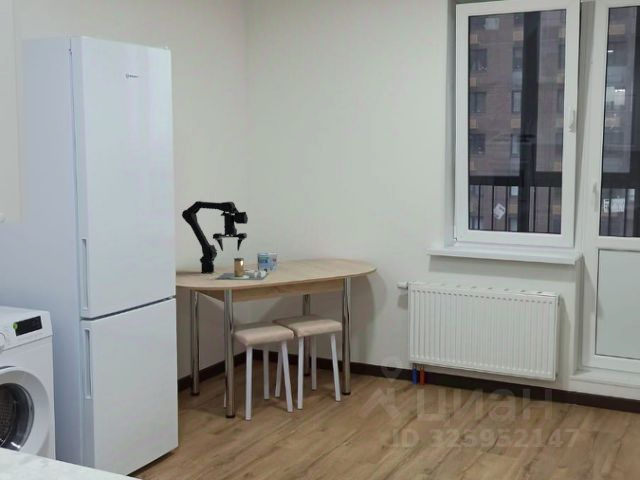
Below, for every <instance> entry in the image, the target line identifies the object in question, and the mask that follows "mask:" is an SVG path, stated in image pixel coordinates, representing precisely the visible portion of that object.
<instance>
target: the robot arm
mask: <svg viewBox="0 0 640 480" xmlns="http://www.w3.org/2000/svg"><path fill="white" fill-rule="evenodd" d="M201 209H206V210H207V209H210V210H217V211H218V210H219V211H220V212H222V213H221V214H220V217H223V221H224V222H223V223H224V226H223V227H224V233H223V234H222V232H215V233H213V234H212V239H213V240H214V241H216V242H217V244H218V245H219V248H220V250H221V252H223V251H224V244H223V239H224V238H237V252H239V251H240V248H241V244H242V242H243V241H244V240H245V239H247V238H248V234H247V233H246V232H239V233H238V229H237V228H236V225H237V224H238V225H239V224H240V225H244V224H245V225H247V224H248V220H249V218H248V214H247V211H239V210H238V208H237V207H236V204H235V202H234V201H224V202H214V201H213V202H212V201H201V200H199V201H195V202H193V204H191V205H190V206H189V207H188V208H187V209H183V211H182V212H181V218H182V219H183V220H184V221H185V223H187V224H188V225H189V226H190V227H191V229H192V231H193V233H194V236H195V237H196V239H197V240H198V243H199V245H200V246H201V253H202V256H201V257H200V258H199V262H200V263H201V265H200V266H201V271H200V274H213V273H214V272H215V264H214V261H215V259H216V258H217V256H218V252H217V251H218V250H217V248H216V246H215V245H214V244H212V245H211V244H210V242H209V241H208V239H207V237H206V235H205V233H204V231H203V229H202V228H201V226H200V223H199V222H198V216H197V213H199V211H200V210H201ZM235 223H236V225H235Z"/></svg>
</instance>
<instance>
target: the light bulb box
mask: <svg viewBox="0 0 640 480" xmlns="http://www.w3.org/2000/svg"><path fill="white" fill-rule="evenodd" d="M257 270H261V271H266V273H269V272H278V253H276V252H258V253H257Z"/></svg>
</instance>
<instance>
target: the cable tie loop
mask: <svg viewBox="0 0 640 480" xmlns="http://www.w3.org/2000/svg"><path fill="white" fill-rule="evenodd" d="M266 273H267V272H266V271H261V270H258V269H252V270H244V275H246V276H249V277H264V276H266Z"/></svg>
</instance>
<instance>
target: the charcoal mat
mask: <svg viewBox="0 0 640 480" xmlns="http://www.w3.org/2000/svg"><path fill="white" fill-rule="evenodd" d="M269 275H270V273H269V272H266V276H264V277H249V279H243V280H242V281H264V280H265V279H266V278H267V277H268V276H269ZM229 276H234V272H224V273H222V274H221V275H219V276H218V277H217V278H215V280H216V281H219V280H222V281H223V280H224V281H234V280H233V279H229Z"/></svg>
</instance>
